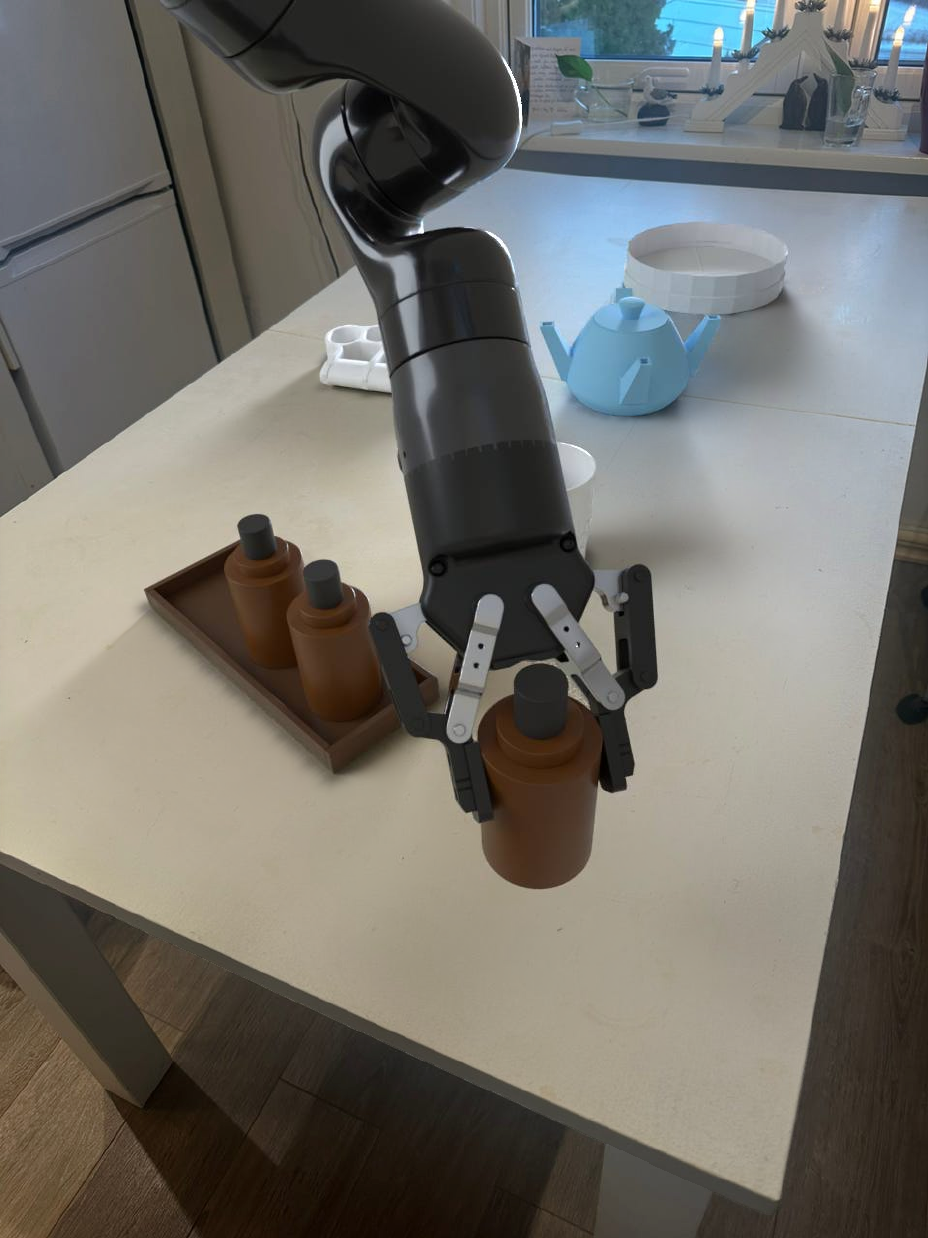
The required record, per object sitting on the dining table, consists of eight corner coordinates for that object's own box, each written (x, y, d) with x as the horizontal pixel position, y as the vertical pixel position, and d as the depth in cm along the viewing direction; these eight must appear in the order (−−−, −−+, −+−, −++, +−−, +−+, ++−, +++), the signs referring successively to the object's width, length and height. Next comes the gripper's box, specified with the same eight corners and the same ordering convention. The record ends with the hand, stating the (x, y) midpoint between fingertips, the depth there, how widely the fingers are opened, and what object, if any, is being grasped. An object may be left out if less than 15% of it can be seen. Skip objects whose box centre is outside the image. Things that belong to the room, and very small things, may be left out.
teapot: (720, 389, 101) (735, 297, 94) (639, 439, 93) (649, 342, 86) (615, 352, 109) (622, 264, 102) (534, 394, 102) (535, 303, 95)
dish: (768, 254, 132) (775, 219, 128) (796, 314, 115) (804, 275, 112) (619, 256, 134) (622, 222, 131) (626, 315, 118) (629, 277, 114)
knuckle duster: (298, 388, 106) (350, 338, 116) (436, 406, 101) (477, 352, 111) (293, 362, 104) (346, 313, 114) (434, 379, 99) (477, 327, 109)
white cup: (484, 567, 78) (480, 471, 71) (536, 526, 82) (537, 432, 76) (556, 602, 74) (560, 503, 67) (607, 556, 78) (615, 459, 72)
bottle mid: (257, 678, 68) (222, 556, 60) (240, 633, 72) (205, 513, 64) (328, 655, 70) (303, 532, 62) (308, 612, 74) (282, 492, 66)
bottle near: (319, 732, 63) (290, 608, 55) (297, 681, 67) (267, 558, 60) (394, 706, 65) (376, 581, 57) (368, 658, 69) (348, 535, 61)
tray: (150, 607, 76) (143, 589, 75) (248, 555, 81) (244, 536, 80) (333, 774, 61) (329, 755, 60) (440, 697, 66) (438, 678, 65)
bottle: (511, 907, 43) (510, 750, 35) (464, 819, 47) (453, 660, 39) (612, 863, 45) (634, 704, 37) (558, 781, 49) (567, 622, 41)
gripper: (330, 462, 37) (407, 855, 36) (646, 411, 39) (726, 780, 39) (331, 500, 45) (395, 827, 44) (597, 455, 47) (663, 765, 46)
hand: (550, 803), depth 41 cm, fingers closed on bottle, 6 cm apart
